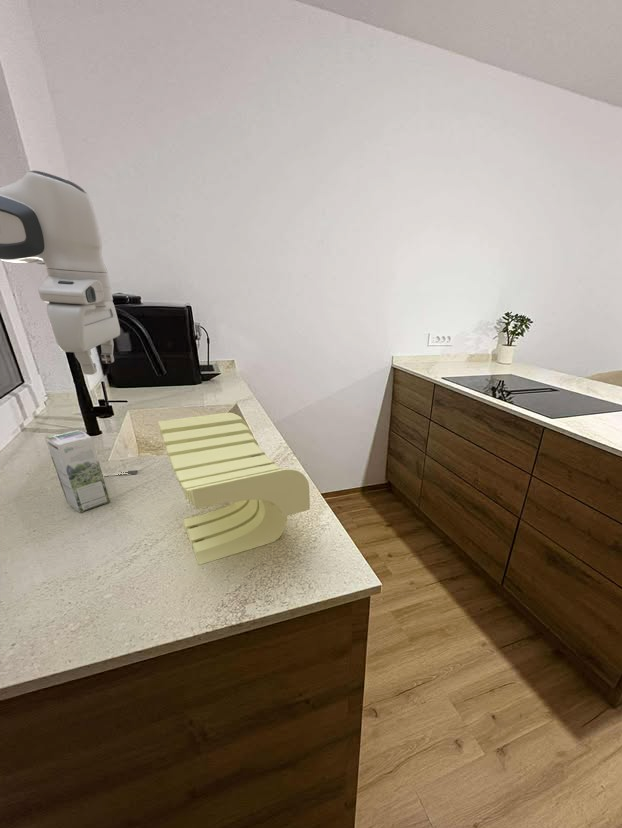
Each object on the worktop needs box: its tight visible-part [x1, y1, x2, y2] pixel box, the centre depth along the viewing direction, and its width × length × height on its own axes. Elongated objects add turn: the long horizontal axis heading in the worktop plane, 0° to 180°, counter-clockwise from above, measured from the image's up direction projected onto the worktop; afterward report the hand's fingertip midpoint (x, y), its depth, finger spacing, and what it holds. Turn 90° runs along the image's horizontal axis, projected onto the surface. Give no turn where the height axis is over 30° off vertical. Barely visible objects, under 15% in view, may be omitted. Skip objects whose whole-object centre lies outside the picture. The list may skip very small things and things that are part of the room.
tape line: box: [118, 469, 139, 476], centre depth 89 cm, size 12×2×1 cm, turn 106°
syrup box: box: [44, 429, 111, 513], centre depth 75 cm, size 6×6×14 cm
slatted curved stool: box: [157, 412, 311, 566], centre depth 67 cm, size 30×16×18 cm, turn 32°
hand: (100, 368), depth 75 cm, fingers open, 8 cm apart
